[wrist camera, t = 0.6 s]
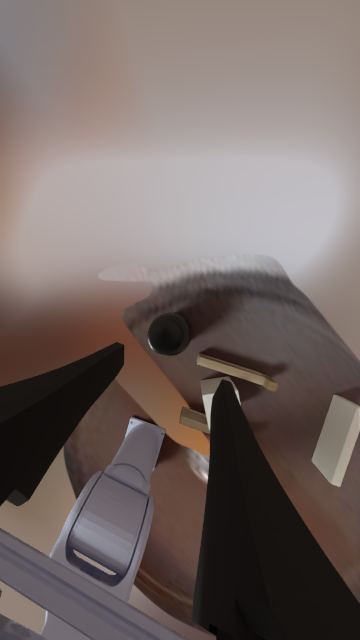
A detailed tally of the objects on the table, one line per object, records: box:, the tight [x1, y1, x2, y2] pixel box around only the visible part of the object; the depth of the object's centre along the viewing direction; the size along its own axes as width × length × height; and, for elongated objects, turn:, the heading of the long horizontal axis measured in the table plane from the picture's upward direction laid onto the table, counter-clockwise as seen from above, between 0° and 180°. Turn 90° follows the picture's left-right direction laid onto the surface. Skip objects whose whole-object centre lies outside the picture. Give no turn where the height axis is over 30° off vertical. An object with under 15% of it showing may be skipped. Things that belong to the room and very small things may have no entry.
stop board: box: [311, 394, 360, 487], centre depth 26 cm, size 14×2×4 cm, turn 163°
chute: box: [180, 353, 278, 434], centre depth 28 cm, size 14×14×4 cm
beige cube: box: [200, 376, 241, 430], centre depth 27 cm, size 6×6×6 cm
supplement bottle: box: [147, 313, 192, 356], centre depth 25 cm, size 7×7×12 cm
